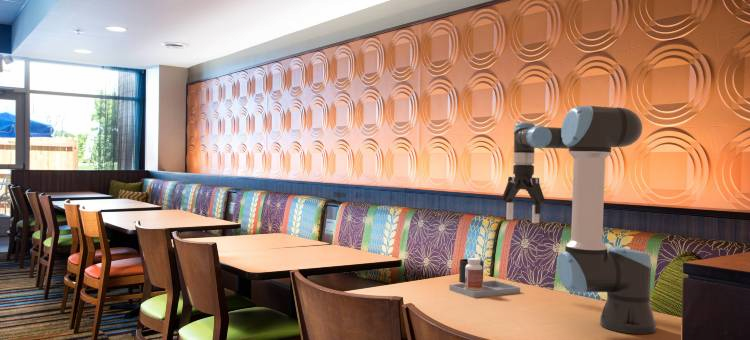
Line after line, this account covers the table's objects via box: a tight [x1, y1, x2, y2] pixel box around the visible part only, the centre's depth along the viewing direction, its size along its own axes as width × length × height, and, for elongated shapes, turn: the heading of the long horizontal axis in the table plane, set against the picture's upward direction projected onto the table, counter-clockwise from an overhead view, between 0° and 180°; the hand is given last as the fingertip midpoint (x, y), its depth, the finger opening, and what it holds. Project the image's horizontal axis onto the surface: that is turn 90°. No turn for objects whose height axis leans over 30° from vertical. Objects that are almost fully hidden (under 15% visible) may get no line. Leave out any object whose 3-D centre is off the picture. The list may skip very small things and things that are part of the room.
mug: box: [458, 258, 485, 284], centre depth 237 cm, size 9×12×9 cm
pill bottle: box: [465, 257, 482, 290], centre depth 215 cm, size 6×6×11 cm
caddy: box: [448, 280, 521, 299], centre depth 218 cm, size 14×22×2 cm, turn 120°
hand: (522, 221), depth 220 cm, fingers open, 13 cm apart
